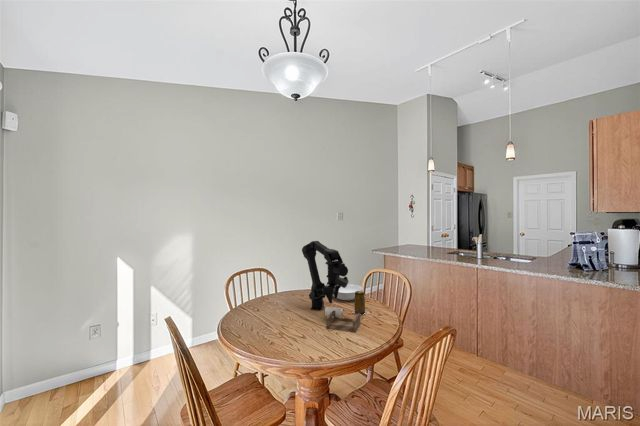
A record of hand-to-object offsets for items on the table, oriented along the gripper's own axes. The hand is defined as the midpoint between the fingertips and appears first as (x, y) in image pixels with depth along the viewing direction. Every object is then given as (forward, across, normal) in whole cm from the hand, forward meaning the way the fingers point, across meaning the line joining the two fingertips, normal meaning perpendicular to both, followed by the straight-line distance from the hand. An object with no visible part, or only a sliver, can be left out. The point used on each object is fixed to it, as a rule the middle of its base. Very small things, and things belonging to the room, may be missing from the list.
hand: (333, 300), depth 170 cm
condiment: (+9, +10, -13) cm, 19 cm away
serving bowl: (+10, +34, +2) cm, 35 cm away
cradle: (+9, -11, -9) cm, 17 cm away
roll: (+7, 0, 0) cm, 7 cm away
